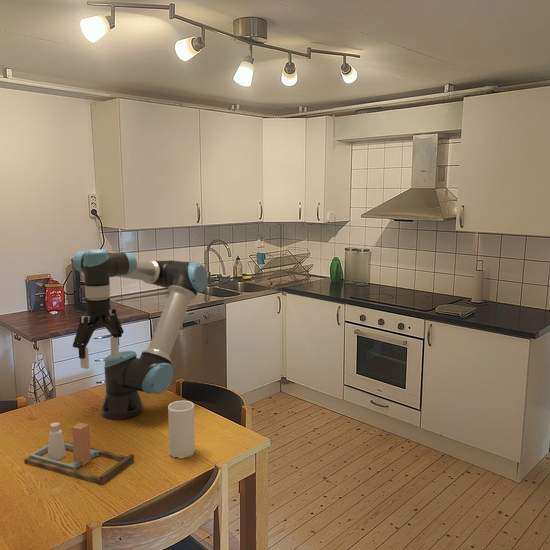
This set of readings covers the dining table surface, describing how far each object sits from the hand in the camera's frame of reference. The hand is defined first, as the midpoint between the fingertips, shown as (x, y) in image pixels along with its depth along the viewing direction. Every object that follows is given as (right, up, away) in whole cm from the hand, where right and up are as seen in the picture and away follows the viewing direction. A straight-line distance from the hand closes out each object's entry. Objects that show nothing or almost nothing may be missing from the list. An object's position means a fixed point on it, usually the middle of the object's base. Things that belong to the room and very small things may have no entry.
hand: (100, 361), depth 166 cm
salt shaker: (-13, -30, -4) cm, 33 cm away
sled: (-10, -29, -5) cm, 31 cm away
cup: (+27, -30, 0) cm, 40 cm away
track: (-4, -30, -7) cm, 31 cm away
